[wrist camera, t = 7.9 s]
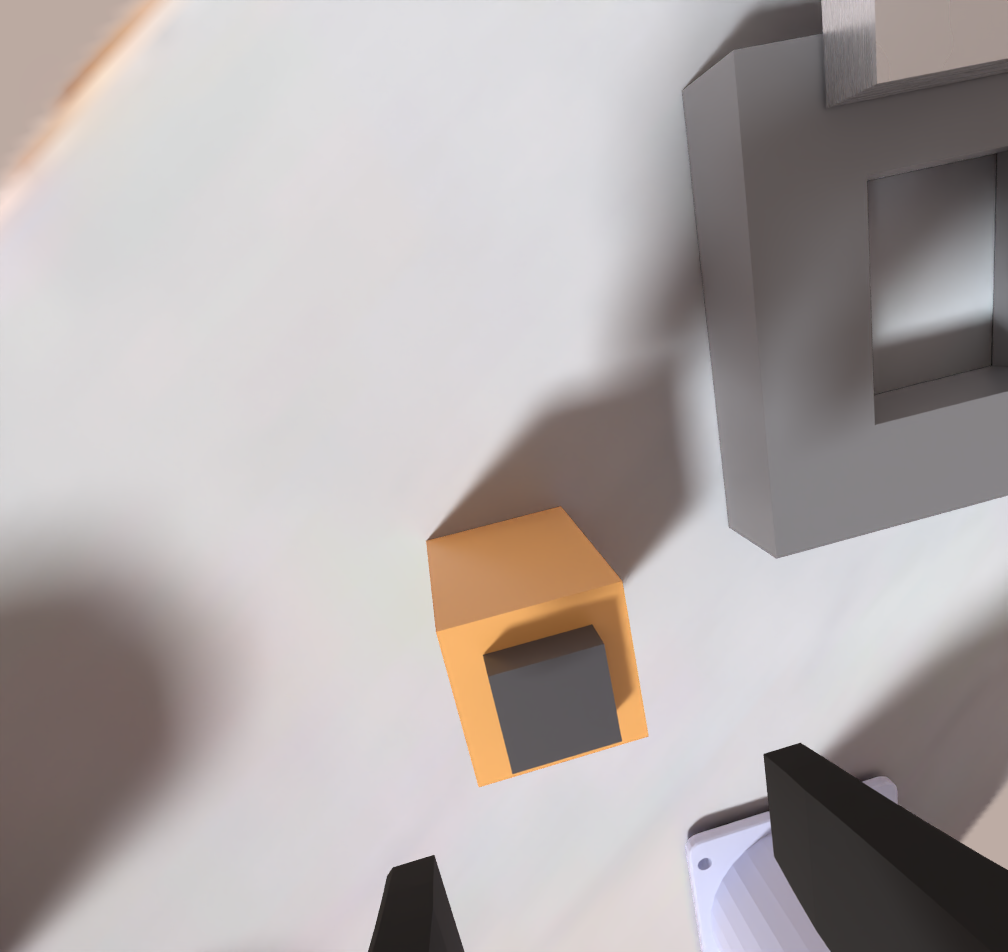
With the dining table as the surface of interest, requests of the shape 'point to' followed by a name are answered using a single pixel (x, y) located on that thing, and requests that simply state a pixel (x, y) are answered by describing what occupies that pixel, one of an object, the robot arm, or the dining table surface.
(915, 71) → the panel
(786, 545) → the socket plate
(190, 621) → the dining table surface
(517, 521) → the plug
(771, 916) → the robot arm
